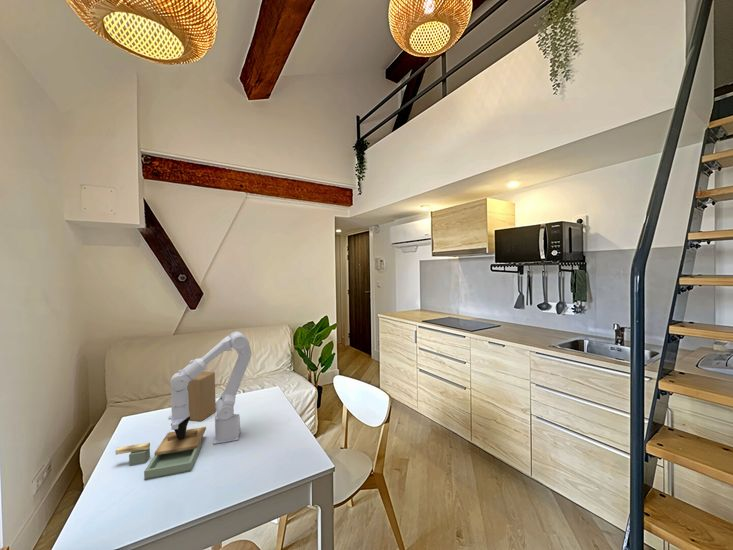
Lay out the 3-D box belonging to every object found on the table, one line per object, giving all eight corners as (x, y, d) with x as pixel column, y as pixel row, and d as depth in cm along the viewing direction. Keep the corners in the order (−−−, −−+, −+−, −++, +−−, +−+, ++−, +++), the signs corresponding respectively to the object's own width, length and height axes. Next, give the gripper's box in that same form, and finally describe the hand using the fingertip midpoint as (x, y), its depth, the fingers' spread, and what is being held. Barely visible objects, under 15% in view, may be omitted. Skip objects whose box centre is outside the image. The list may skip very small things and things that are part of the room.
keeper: (150, 456, 113) (149, 446, 113) (145, 462, 109) (145, 452, 109) (134, 459, 111) (134, 448, 111) (129, 465, 107) (129, 455, 107)
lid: (205, 429, 126) (205, 423, 126) (197, 447, 112) (197, 441, 112) (168, 435, 122) (167, 429, 122) (154, 455, 108) (154, 448, 108)
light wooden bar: (150, 446, 112) (150, 442, 112) (147, 449, 110) (147, 445, 110) (118, 451, 109) (118, 447, 109) (115, 454, 107) (115, 450, 107)
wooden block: (199, 410, 150) (197, 370, 150) (216, 411, 148) (215, 371, 148) (183, 420, 140) (181, 378, 140) (201, 421, 138) (200, 379, 138)
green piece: (201, 448, 117) (200, 440, 117) (191, 471, 104) (190, 462, 104) (160, 455, 113) (159, 447, 113) (144, 480, 100) (144, 471, 100)
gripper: (174, 398, 122) (175, 430, 122) (161, 414, 108) (162, 451, 108) (193, 395, 124) (195, 427, 124) (183, 411, 110) (184, 447, 110)
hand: (181, 438), depth 116 cm, fingers closed
